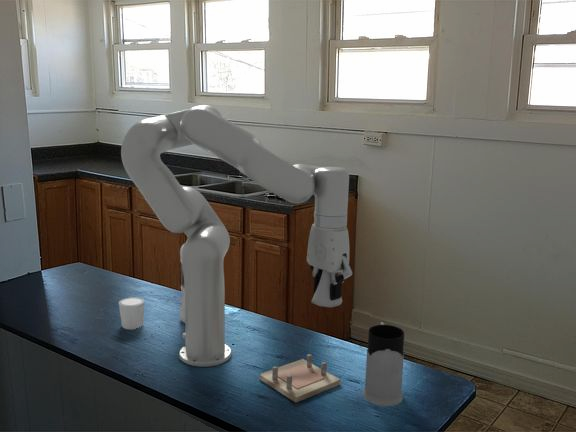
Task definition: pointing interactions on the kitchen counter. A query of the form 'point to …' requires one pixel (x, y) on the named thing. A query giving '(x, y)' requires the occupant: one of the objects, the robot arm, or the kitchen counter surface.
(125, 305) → the white tapered cylinder
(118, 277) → the kitchen counter surface
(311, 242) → the robot arm
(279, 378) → the four-post base plate
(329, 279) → the flask
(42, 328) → the kitchen counter surface
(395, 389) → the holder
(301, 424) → the kitchen counter surface
